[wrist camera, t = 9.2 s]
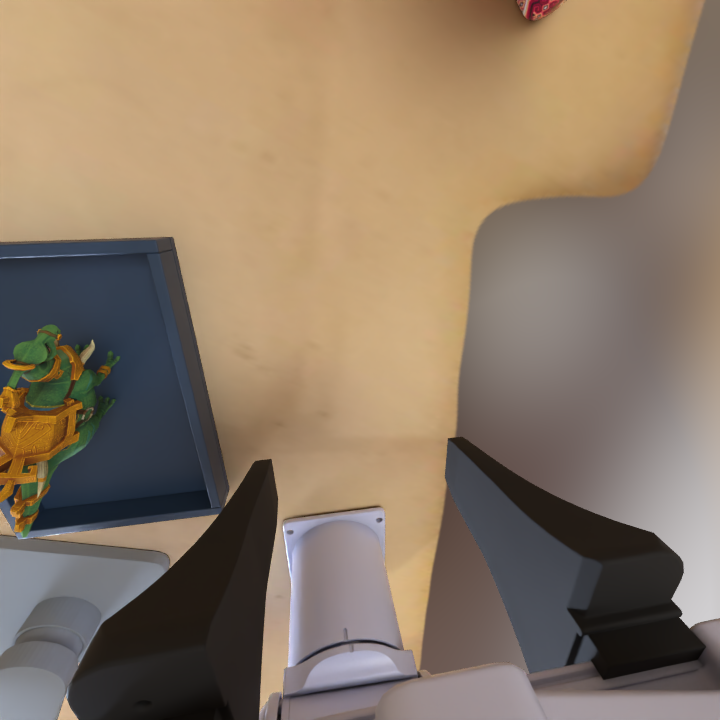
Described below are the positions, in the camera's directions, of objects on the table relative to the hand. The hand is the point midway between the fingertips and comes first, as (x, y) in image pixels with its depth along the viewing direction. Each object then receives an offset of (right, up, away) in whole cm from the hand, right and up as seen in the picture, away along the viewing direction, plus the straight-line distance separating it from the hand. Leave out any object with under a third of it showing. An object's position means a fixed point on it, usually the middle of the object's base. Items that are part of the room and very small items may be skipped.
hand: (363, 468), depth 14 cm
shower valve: (-23, -15, +13) cm, 31 cm away
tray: (-16, +2, +7) cm, 17 cm away
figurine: (-16, +2, +7) cm, 17 cm away
